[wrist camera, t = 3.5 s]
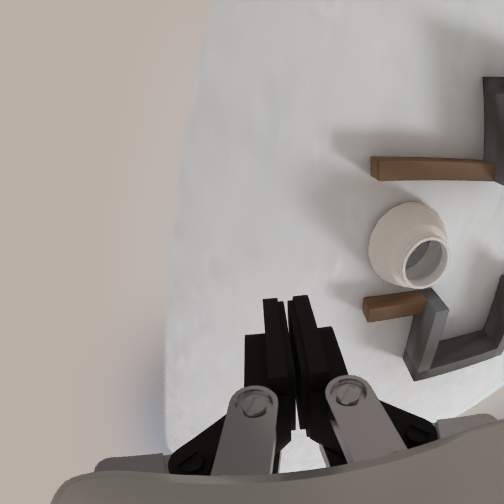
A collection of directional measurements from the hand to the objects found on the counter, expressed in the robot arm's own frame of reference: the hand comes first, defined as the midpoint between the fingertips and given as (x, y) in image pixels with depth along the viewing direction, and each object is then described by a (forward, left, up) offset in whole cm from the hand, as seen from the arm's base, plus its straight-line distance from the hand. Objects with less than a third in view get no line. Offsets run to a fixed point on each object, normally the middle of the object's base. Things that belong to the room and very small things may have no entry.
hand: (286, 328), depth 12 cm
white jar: (0, +8, -6) cm, 10 cm away
